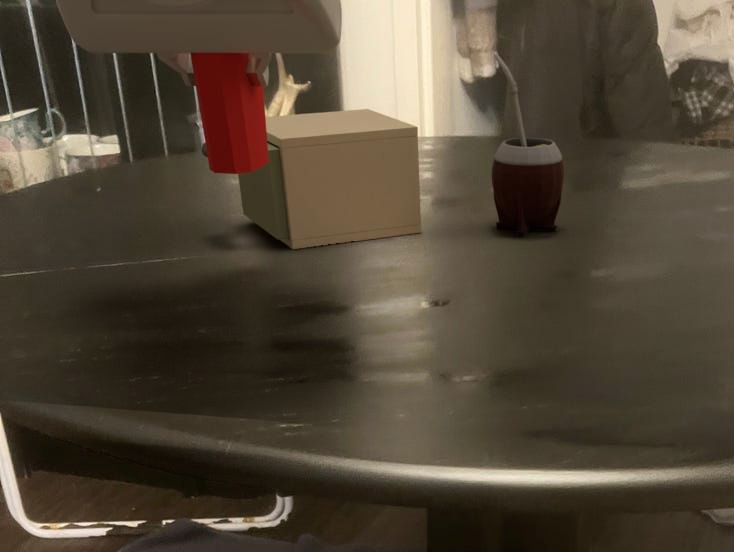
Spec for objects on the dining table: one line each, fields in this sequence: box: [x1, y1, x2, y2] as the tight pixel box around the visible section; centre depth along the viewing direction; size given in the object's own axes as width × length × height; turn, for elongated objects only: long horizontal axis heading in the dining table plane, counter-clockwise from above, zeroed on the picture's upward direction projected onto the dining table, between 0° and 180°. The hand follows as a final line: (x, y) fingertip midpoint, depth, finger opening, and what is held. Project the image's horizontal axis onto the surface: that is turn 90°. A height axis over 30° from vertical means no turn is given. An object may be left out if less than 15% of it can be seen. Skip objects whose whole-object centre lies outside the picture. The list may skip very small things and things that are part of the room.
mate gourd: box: [491, 53, 565, 238], centre depth 95 cm, size 8×8×15 cm
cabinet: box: [265, 108, 422, 250], centre depth 98 cm, size 14×13×10 cm
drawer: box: [201, 141, 289, 241], centre depth 96 cm, size 16×11×8 cm
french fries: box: [190, 53, 269, 175], centre depth 78 cm, size 8×4×12 cm, turn 169°
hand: (228, 79), depth 79 cm, fingers closed on french fries, 4 cm apart
